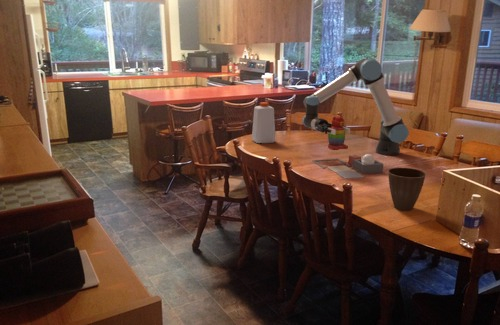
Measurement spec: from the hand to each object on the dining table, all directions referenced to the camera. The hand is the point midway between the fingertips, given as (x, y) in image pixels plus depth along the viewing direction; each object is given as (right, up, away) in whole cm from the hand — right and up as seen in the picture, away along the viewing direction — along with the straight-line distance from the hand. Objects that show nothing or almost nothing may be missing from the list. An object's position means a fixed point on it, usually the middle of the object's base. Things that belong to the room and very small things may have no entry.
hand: (342, 131), depth 232 cm
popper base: (+15, -21, +6) cm, 27 cm away
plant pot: (+16, -37, -48) cm, 62 cm away
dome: (+15, -20, +6) cm, 26 cm away
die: (+11, -18, +18) cm, 28 cm away
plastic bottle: (-41, -2, +76) cm, 86 cm away
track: (0, -20, +10) cm, 22 cm away
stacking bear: (-2, -9, +7) cm, 11 cm away
